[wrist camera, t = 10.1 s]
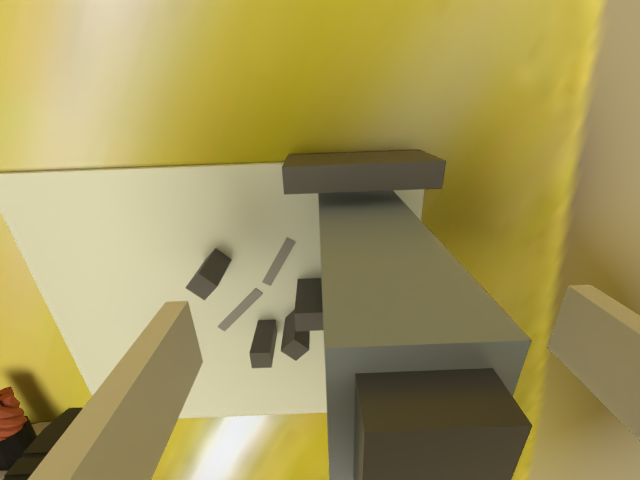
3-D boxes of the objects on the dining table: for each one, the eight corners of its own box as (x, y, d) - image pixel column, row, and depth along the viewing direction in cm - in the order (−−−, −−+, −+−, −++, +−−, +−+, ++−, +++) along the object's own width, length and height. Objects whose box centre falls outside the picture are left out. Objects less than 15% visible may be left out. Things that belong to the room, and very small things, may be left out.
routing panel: (398, 404, 25) (412, 455, 21) (108, 415, 25) (72, 469, 21) (425, 148, 16) (457, 160, 13) (-13, 164, 16) (-107, 181, 13)
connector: (384, 265, 19) (509, 549, 7) (320, 267, 19) (332, 556, 7) (389, 186, 17) (582, 395, 5) (318, 189, 17) (327, 404, 5)
